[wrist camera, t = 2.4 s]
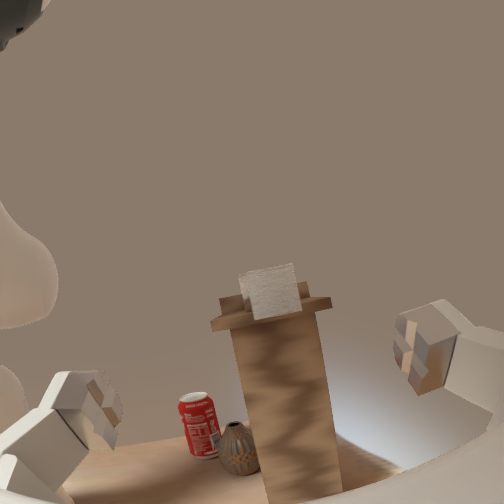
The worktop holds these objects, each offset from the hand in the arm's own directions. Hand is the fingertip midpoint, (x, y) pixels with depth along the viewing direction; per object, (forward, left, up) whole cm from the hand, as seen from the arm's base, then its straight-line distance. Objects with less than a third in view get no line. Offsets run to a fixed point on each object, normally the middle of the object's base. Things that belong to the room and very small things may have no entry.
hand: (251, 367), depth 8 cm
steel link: (+2, +21, 0) cm, 21 cm away
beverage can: (-13, +47, -26) cm, 55 cm away
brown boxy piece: (+2, +27, -26) cm, 37 cm away
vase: (-6, +39, -26) cm, 47 cm away
